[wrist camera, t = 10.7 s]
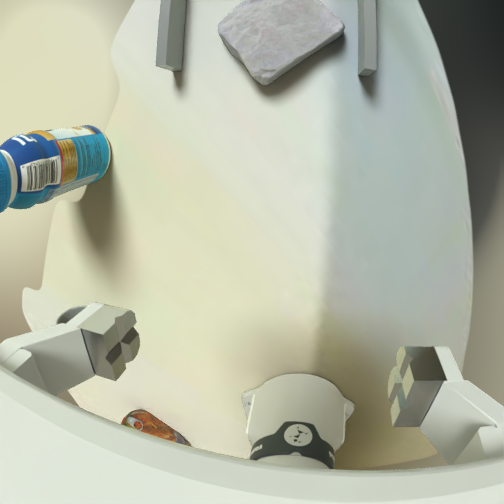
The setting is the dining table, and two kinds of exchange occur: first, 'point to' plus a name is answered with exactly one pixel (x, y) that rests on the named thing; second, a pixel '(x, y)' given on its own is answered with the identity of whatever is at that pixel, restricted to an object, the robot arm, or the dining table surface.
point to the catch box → (175, 23)
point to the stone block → (277, 34)
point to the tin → (151, 426)
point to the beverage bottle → (50, 164)
